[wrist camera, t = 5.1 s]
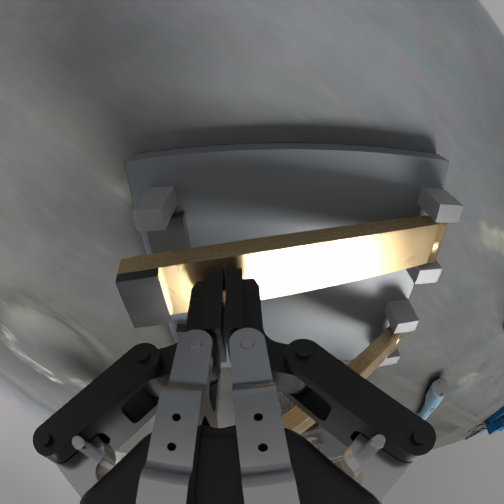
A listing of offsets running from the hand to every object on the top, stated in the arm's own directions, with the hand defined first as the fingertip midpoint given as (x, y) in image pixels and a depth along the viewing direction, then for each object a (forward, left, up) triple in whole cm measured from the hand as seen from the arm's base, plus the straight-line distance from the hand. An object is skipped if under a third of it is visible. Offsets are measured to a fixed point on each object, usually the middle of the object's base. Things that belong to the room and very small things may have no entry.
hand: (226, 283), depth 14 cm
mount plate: (-4, +5, -7) cm, 9 cm away
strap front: (-13, 0, -4) cm, 14 cm away
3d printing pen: (-33, +41, -10) cm, 54 cm away
